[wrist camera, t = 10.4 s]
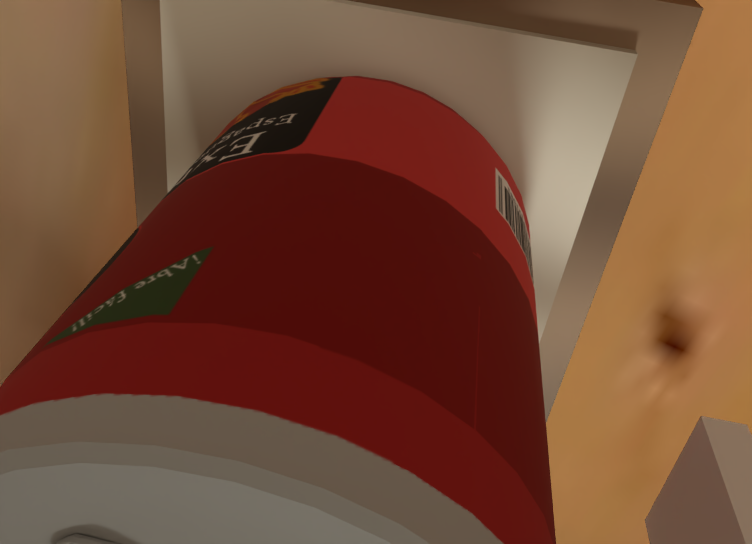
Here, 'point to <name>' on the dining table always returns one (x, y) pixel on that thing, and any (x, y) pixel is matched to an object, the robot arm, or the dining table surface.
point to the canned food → (298, 347)
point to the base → (449, 86)
